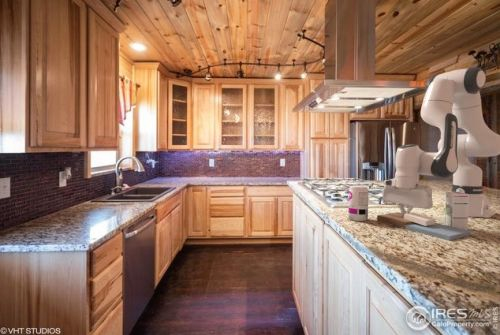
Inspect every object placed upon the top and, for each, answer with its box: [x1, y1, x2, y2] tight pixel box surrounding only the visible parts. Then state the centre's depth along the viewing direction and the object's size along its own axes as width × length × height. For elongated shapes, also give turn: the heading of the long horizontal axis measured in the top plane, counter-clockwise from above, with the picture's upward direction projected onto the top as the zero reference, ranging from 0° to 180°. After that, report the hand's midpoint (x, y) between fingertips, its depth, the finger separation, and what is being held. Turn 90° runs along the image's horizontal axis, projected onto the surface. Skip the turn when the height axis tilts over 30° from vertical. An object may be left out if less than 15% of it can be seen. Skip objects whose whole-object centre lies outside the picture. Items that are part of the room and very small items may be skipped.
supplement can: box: [347, 184, 370, 222], centre depth 123 cm, size 8×8×15 cm
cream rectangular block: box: [404, 212, 437, 226], centre depth 110 cm, size 6×9×2 cm, turn 26°
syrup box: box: [444, 191, 469, 230], centre depth 108 cm, size 6×6×14 cm
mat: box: [404, 222, 472, 241], centre depth 104 cm, size 14×16×2 cm
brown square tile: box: [376, 212, 415, 229], centre depth 117 cm, size 14×13×2 cm
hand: (405, 215), depth 116 cm, fingers closed
